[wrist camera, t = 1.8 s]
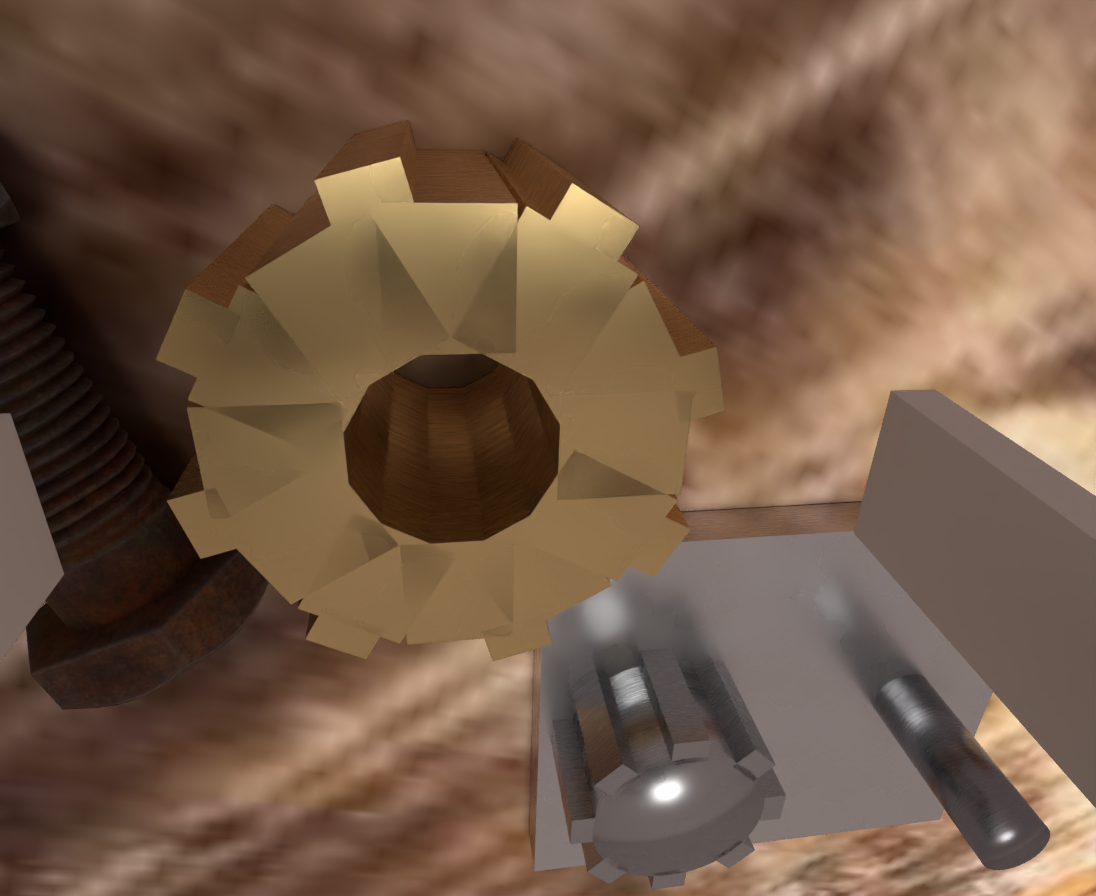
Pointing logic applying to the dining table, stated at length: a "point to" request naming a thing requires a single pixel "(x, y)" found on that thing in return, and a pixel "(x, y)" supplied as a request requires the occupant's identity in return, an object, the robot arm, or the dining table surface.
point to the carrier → (757, 708)
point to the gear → (437, 399)
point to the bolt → (106, 531)
